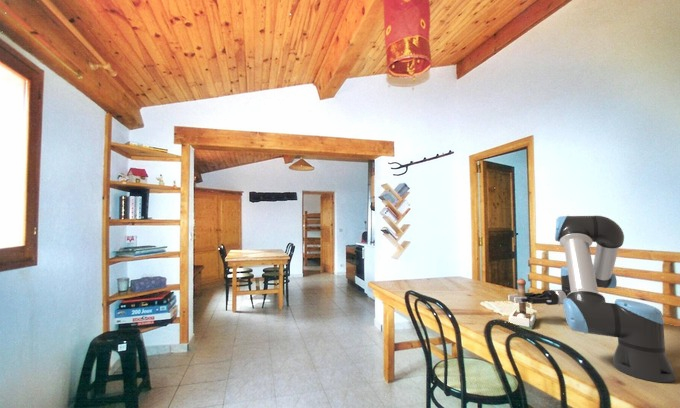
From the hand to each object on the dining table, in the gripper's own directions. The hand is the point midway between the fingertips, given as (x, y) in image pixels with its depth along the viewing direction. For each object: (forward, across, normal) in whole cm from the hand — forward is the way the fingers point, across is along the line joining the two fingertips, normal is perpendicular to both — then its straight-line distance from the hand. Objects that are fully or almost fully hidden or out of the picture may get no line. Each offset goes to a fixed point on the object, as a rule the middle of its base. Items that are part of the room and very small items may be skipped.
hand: (511, 298), depth 157 cm
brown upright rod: (-6, 0, -10) cm, 12 cm away
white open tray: (-5, -1, -12) cm, 13 cm away
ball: (-3, -3, -9) cm, 10 cm away
